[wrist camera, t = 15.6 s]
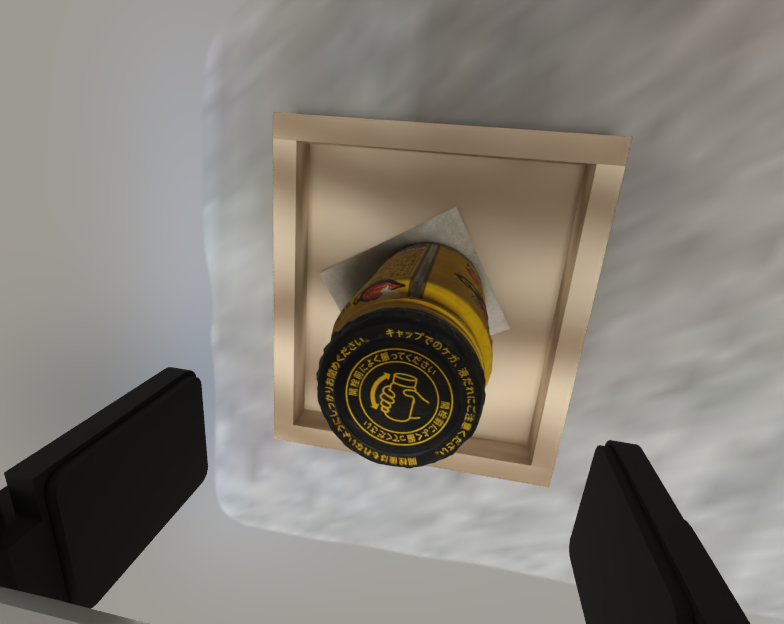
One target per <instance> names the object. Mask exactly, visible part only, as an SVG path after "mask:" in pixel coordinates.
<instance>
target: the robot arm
mask: <svg viewBox="0 0 784 624" xmlns="http://www.w3.org/2000/svg"><path fill="white" fill-rule="evenodd" d="M207 462H208V461H207V450H206V436H205V424H204V411H203V399H202V388H201V381H200V379H199V378H197V377H196V375H195V373H194V372H193V371H190V370H185V369H179V368H172V367H168V368H166V369H164V370H163V371H161V372H159V373H158V374H157V375H155V376H153V377H152V378H150V379H149V380H147V381H145V382H144V383H142V384H141V385H139V386H138V387H136V388H135V389H133V390H132V391H130V392H128V393H127V394H125V395H124V396H122V397H121V398H119V399H118V400H116V401H115V402H113V403H111V404H110V405H108V406H107V407H105V408H104V409H102V410H100V411H99V412H97V413H96V414H94V415H93V416H91V417H90V418H88V419H87V420H85V421H83V422H82V423H80V424H79V425H78V426H76V427H74V428H73V429H71V430H70V431H68V432H66V433H65V434H63V435H62V436H60V437H59V438H57V439H56V440H54V441H52V442H51V443H49V444H48V445H46V446H45V447H43V448H42V449H40V450H39V451H37V452H36V453H34V454H32V455H31V456H29V457H28V458H26V459H25V460H23V461H21V462H20V463H18V464H17V465H15V466H14V467H12V468H11V469H9V470H7V471H6V472H4V474H5V478H6V482H7V486H6V487H4V488H3V489H2V490H0V624H147V623H143V622H140V621H136V620H132V619H128V618H124V617H120V616H117V615H112V614H109V613H105V612H101V611H97V610H93V609H91V608H92V607H94V606H95V605H96V604H97V603H98V602H99V601H100V600H101V599H102V597H103V596H104V595H105V594H106V593H107V592H108V590H109V589H110V588H111V587H112V586H113V585H114V584H115V582H116V581H117V580H118V579H119V578H120V577H121V576H122V574H123V573H124V572H125V571H126V570H127V569H128V567H129V566H130V565H131V564H132V563H133V562H134V561H135V559H136V558H137V557H138V556H139V555H140V554H141V553H142V551H143V550H144V549H145V548H146V547H147V546H148V544H149V543H150V542H151V541H152V540H153V539H154V537H155V536H156V535H157V534H158V533H159V532H160V531H161V529H162V528H163V527H164V526H165V525H166V524H167V523H168V521H169V520H170V519H171V518H172V517H173V516H174V515H175V513H176V512H177V511H178V510H179V509H180V507H181V506H182V505H183V504H184V503H185V502H186V501H187V499H188V498H189V497H190V496H191V495H192V494H193V492H194V491H195V490H196V489H197V488H198V487H199V486H200V485H201V483H202V482H203V481H204V479H205V477H206V474H207V470H208V463H207ZM569 554H570V560H571V564H572V568H573V572H574V577H575V581H576V585H577V589H578V592H579V597H580V601H581V605H582V609H583V613H584V617H585V621H586V624H750V622H749V621H748V619H747V617H746V616H745V614H744V612H743V611H742V609H741V607H740V606H739V604H738V603H737V601H736V599H735V598H734V596H733V594H732V593H731V591H730V589H729V588H728V586H727V584H726V583H725V581H724V580H723V578H722V576H721V575H720V573H719V571H718V570H717V568H716V566H715V565H714V563H713V561H712V560H711V558H710V556H709V555H708V553H707V552H706V550H705V548H704V547H703V545H702V543H701V542H700V540H699V538H698V537H697V535H696V533H695V532H694V530H693V529H692V527H691V526H690V525H689V523H688V522H687V521H686V520H684V519H683V517H682V515H681V514H680V512H679V510H678V509H677V507H676V505H675V504H674V502H673V500H672V499H671V497H670V495H669V494H668V492H667V490H666V489H665V487H664V485H663V484H662V482H661V480H660V479H659V477H658V475H657V474H656V472H655V470H654V469H653V467H652V465H651V464H650V462H649V460H648V459H647V457H646V455H645V454H644V452H643V450H642V449H641V447H640V446H639V445H636V444H630V443H624V442H618V441H612V440H609V441H607V443H606V444H605V446H601V445H599V446H597V448H596V450H595V453H594V457H593V460H592V464H591V467H590V471H589V474H588V478H587V482H586V485H585V489H584V492H583V496H582V499H581V503H580V506H579V510H578V513H577V517H576V521H575V524H574V528H573V531H572V535H571V538H570V544H569Z"/></svg>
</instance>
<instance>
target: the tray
mask: <svg viewBox="0 0 784 624" xmlns="http://www.w3.org/2000/svg"><path fill="white" fill-rule="evenodd" d="M631 141H632V137H626V136H612V135H597V134H583V133H568V132H554V131H539V130H525V129H510V128H496V127H481V126H467V125H452V124H438V123H423V122H409V121H394V120H380V119H365V118H351V117H336V116H322V115H307V114H293V113H278V112H273V224H274V439H279V440H284V441H290V442H296V443H301V444H307V445H313V446H318V447H324V448H329V449H335V450H341V451H346V452H352V453H356V452H354V451H352V450H350V449H349V448H348V447H346V446H345V445H344V444H343V443H342V441H341V440H340V439H339V438H338V437H337V436H336V435H335V434H334V433H333V431H332V430H331V429H330V427H329V425H328V422H327V420H326V419H325V417H324V416H323V414H322V411H321V408H320V406H319V403H318V399H317V386H318V382H317V380H316V378H317V376H316V373H317V371H318V369H319V360H320V358H321V356H322V355H323V353H324V352H323V350H324V348H325V347H326V345H327V344H328V343H329V342H330V341H331V335H332V331H333V327H334V323H335V322H336V320H337V318H338V316H339V314H340V313H341V312H340V310H339V308H338V306H337V304H336V302H335V301H334V299H333V297H332V295H331V294H330V291H329V290H328V288H327V286H326V285H325V283H324V282H323V280H322V278H321V276H320V274H319V273H321V272H323V271H325V270H327V269H329V268H332V267H334V266H336V265H338V264H340V263H342V262H344V261H346V260H348V259H350V258H352V257H354V256H356V255H358V254H360V253H362V252H364V251H366V250H369V249H371V248H373V247H375V246H377V245H379V244H381V243H382V242H385V241H387V240H389V239H391V238H393V237H395V236H397V235H399V234H401V233H403V232H405V231H407V230H409V229H411V228H413V227H416V226H418V225H420V224H422V223H424V222H426V221H428V220H430V219H432V218H434V217H436V216H438V215H440V214H442V213H444V212H446V211H448V210H451V209H453V208H455V207H457V210H458V212H459V214H460V217H461V219H462V221H463V223H464V226H465V228H466V230H467V232H468V235H469V237H470V239H471V241H472V243H473V246H474V248H475V250H476V252H477V255H478V257H479V259H480V261H481V264H482V266H483V268H484V270H485V273H486V275H487V277H488V279H489V282H490V284H491V286H492V288H493V291H494V293H495V295H496V298H497V300H498V302H499V304H500V307H501V308H502V311H503V313H504V316H505V318H506V320H507V322H508V325H509V327H510V329H509V330H505V331H502V332H499V333H496V334H494V335H491V338H492V340H493V344H492V352H493V361H492V372H491V375H490V378H489V381H488V384H487V386H486V388H485V393H486V398H485V403H484V406H483V411H482V414H481V417H480V420H479V423H478V426H477V428H476V430H475V432H474V434H473V436H472V437H471V438H469V439H468V440H467V441H465V442H464V443H463V444H462V445H461V446H460V447H459V448H458V449H457V451H456V452H455V453H454V454H453V455H451V456H449V457H447V458H445V459H442V460H439V461H437V462H436V463H433V464H428V465H426V466H431V467H437V468H443V469H448V470H454V471H460V472H465V473H471V474H476V475H482V476H488V477H493V478H499V479H505V480H510V481H516V482H522V483H527V484H533V485H539V486H544V487H550V482H551V478H552V474H553V470H554V466H555V461H556V457H557V453H558V449H559V444H560V440H561V436H562V432H563V428H564V423H565V419H566V415H567V411H568V407H569V402H570V398H571V394H572V390H573V385H574V381H575V377H576V373H577V369H578V364H579V360H580V356H581V352H582V347H583V343H584V339H585V335H586V331H587V326H588V322H589V318H590V314H591V310H592V305H593V301H594V297H595V293H596V288H597V284H598V280H599V276H600V272H601V267H602V263H603V259H604V255H605V251H606V246H607V242H608V238H609V234H610V229H611V225H612V221H613V217H614V213H615V208H616V204H617V200H618V196H619V191H620V187H621V183H622V179H623V175H624V170H625V166H626V162H627V158H628V154H629V149H630V145H631Z"/></svg>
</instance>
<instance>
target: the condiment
mask: <svg viewBox="0 0 784 624" xmlns="http://www.w3.org/2000/svg"><path fill="white" fill-rule="evenodd" d="M319 274H320V276H321V278H322V280H323V282H324V283H325V285H326V286H327V288H328V290H329V291H330V294H331V295H332V297H333V299H334V301H335V302H336V304H337V306H338V308H339V310H340V312H341V313H340V314H339V316H338V318H337V320H336V322H335V323H334V327H333V331H332V335H331V341H330V342H329V343H328V344H327V345H326V347H325V348H324V350H323V352H324V353H323V355H322V356H321V358H320V360H319V369H318V371H317V373H316V376H317V378H316V380H317V382H318V386H317V399H318V403H319V406H320V408H321V411H322V414H323V416H324V417H325V419H326V420H327V422H328V425H329V427H330V429H331V430H332V431H333V433H334V434H335V435H336V436H337V437H338V438H339V439H340V440H341V441H342V443H343V444H344V445H345V446H346V447H348V448H349V449H350V450H352V451H354V452H356V453H357V454H359V455H361V456H362V457H364V458H366V459H368V460H370V461H373V462H375V463H378V464H385V465H390V466H397V467H405V468H413V467H420V466H424V465H428V464H433V463H436V462H437V461H439V460H442V459H445V458H447V457H449V456H451V455H453V454H454V453H455V452H456V451H457V449H458V448H459V447H460V446H461V445H462V444H463V443H464V442H465V441H467V440H468V439H469V438H471V437H472V436H473V434H474V432H475V430H476V428H477V426H478V423H479V420H480V417H481V414H482V411H483V406H484V403H485V398H486V393H485V388H486V386H487V384H488V381H489V378H490V375H491V372H492V361H493V352H492V344H493V340H492V338H491V335H494V334H496V333H499V332H502V331H505V330H509V329H510V327H509V325H508V322H507V320H506V318H505V316H504V313H503V311H502V308H501V307H500V304H499V302H498V300H497V298H496V295H495V293H494V291H493V288H492V286H491V284H490V282H489V279H488V277H487V275H486V273H485V270H484V268H483V266H482V264H481V261H480V259H479V257H478V255H477V252H476V250H475V248H474V246H473V243H472V241H471V239H470V237H469V235H468V232H467V230H466V228H465V226H464V223H463V221H462V219H461V217H460V214H459V212H458V210H457V207H455V208H453V209H451V210H448V211H446V212H444V213H442V214H440V215H438V216H436V217H434V218H432V219H430V220H428V221H426V222H424V223H422V224H420V225H418V226H416V227H413V228H411V229H409V230H407V231H405V232H403V233H401V234H399V235H397V236H395V237H393V238H391V239H389V240H387V241H385V242H382V243H381V244H379V245H377V246H375V247H373V248H371V249H369V250H366V251H364V252H362V253H360V254H358V255H356V256H354V257H352V258H350V259H348V260H346V261H344V262H342V263H340V264H338V265H336V266H334V267H332V268H329V269H327V270H325V271H323V272H321V273H319Z"/></svg>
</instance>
